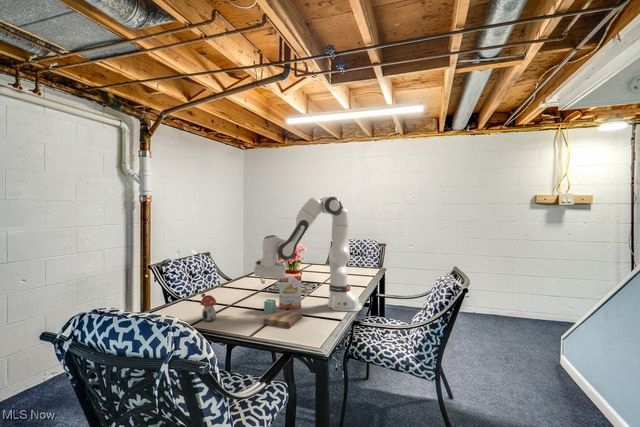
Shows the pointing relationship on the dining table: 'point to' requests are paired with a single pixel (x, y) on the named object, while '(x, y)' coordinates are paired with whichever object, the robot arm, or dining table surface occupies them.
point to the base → (283, 318)
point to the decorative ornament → (208, 308)
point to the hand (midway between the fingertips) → (269, 284)
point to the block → (269, 306)
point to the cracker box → (290, 291)
